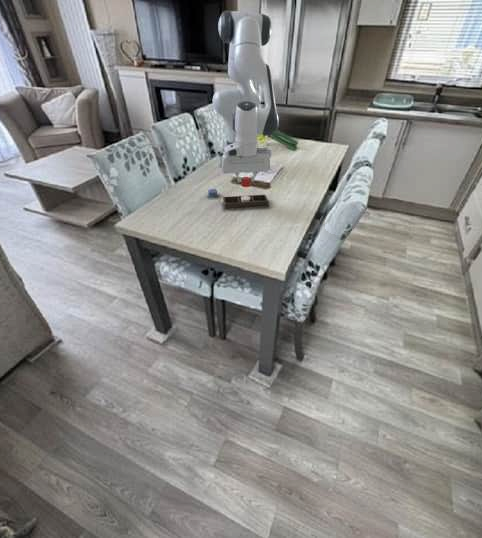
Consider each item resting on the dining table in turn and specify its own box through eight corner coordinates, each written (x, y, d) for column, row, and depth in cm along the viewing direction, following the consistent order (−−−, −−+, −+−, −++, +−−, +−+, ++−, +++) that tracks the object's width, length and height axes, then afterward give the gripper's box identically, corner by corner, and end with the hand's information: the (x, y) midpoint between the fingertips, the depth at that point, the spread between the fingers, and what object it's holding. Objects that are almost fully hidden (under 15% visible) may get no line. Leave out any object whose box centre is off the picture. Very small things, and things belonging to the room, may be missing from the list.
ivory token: (240, 202, 136) (240, 196, 135) (249, 201, 137) (249, 195, 135) (241, 206, 133) (241, 200, 131) (250, 205, 134) (251, 199, 132)
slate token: (208, 195, 143) (207, 189, 142) (217, 194, 144) (216, 188, 142) (208, 198, 140) (208, 193, 138) (217, 198, 141) (217, 192, 139)
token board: (223, 203, 137) (223, 196, 135) (265, 200, 140) (265, 194, 138) (224, 210, 132) (224, 203, 130) (268, 207, 134) (268, 201, 132)
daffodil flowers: (288, 154, 193) (244, 131, 200) (292, 160, 207) (250, 138, 214) (302, 129, 189) (256, 107, 196) (305, 137, 203) (262, 115, 210)
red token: (240, 183, 131) (240, 176, 129) (250, 183, 131) (250, 176, 129) (242, 187, 127) (241, 180, 126) (251, 187, 128) (251, 180, 126)
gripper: (269, 145, 124) (267, 177, 132) (220, 147, 121) (222, 180, 129) (273, 150, 119) (271, 183, 127) (222, 152, 116) (223, 185, 125)
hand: (245, 181), depth 128 cm, fingers closed on red token, 4 cm apart
